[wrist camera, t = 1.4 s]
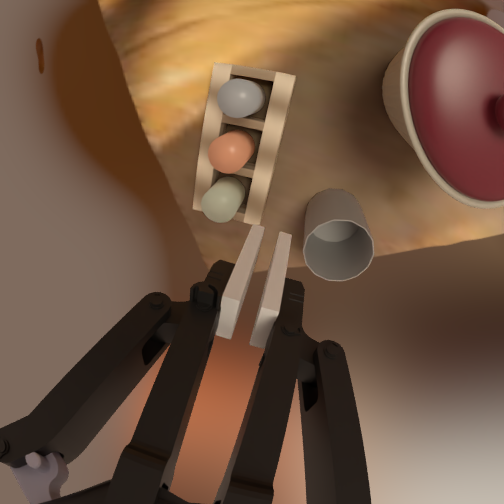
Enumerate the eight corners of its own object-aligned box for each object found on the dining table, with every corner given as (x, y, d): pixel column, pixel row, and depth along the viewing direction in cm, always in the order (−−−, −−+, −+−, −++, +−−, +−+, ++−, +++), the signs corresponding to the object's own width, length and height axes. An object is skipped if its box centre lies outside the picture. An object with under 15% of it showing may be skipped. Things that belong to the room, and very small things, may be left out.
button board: (221, 64, 30) (214, 62, 27) (296, 77, 29) (295, 76, 27) (199, 201, 42) (192, 208, 39) (262, 217, 41) (259, 226, 39)
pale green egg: (216, 173, 36) (203, 185, 31) (248, 180, 35) (239, 194, 31) (212, 202, 38) (199, 217, 34) (242, 210, 38) (232, 226, 34)
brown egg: (224, 126, 32) (211, 132, 28) (258, 133, 32) (249, 140, 28) (218, 158, 34) (205, 168, 30) (251, 166, 34) (242, 177, 30)
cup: (364, 190, 36) (379, 222, 27) (358, 241, 40) (368, 282, 32) (305, 187, 37) (303, 217, 29) (304, 238, 42) (301, 279, 33)
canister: (423, 17, 19) (509, -24, 2) (491, 123, 24) (590, 168, 7) (332, 80, 29) (363, 61, 11) (412, 185, 33) (483, 273, 16)
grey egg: (233, 78, 28) (221, 76, 24) (269, 84, 28) (262, 82, 24) (227, 111, 31) (214, 114, 27) (261, 117, 30) (253, 121, 26)
